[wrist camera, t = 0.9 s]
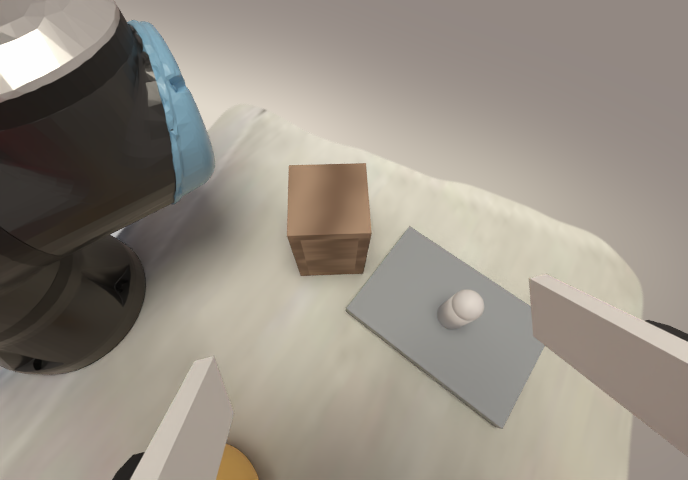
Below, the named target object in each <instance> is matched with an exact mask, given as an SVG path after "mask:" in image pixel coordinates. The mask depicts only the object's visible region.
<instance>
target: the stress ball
mask: <svg viewBox="0 0 688 480" xmlns="http://www.w3.org/2000/svg"><path fill="white" fill-rule="evenodd" d="M216 480H259V479H258V476H257V473H256V471H255V469H254V467H253V466H252V464H251V463H250V461H249V460H248V459H247V457H246V456H245V455H244V454H243V453H241V452H240V451H239V450H238V449H236V448H234V447H233V446H231V445H228V444H226V445H225V448H224V452H223V456H222V459H221V463H220V466H219V470H218V474H217V477H216Z"/></svg>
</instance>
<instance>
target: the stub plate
mask: <svg viewBox="0 0 688 480" xmlns="http://www.w3.org/2000/svg"><path fill="white" fill-rule="evenodd" d="M346 312H347V313H349V314H350V315H351V316H353V317H354V318H355V319H356V320H358V321H359V322H360V323H362V324H363V325H364V326H365V327H367V328H368V329H369V330H371V331H372V332H373V333H375V334H376V335H377V336H378V337H380V338H381V339H382V340H384V341H385V342H386V343H388V344H389V345H390V346H391V347H393V348H394V349H395V350H397V351H398V352H399V353H400V354H402V355H403V356H404V357H406V358H407V359H408V360H410V361H411V362H412V363H413V364H415V365H416V366H417V367H419V368H420V369H421V370H422V371H424V372H425V373H426V374H428V375H429V376H430V377H432V378H433V379H434V380H435V381H437V382H438V383H439V384H441V385H442V386H443V387H444V388H446V389H447V390H448V391H450V392H451V393H452V394H454V395H455V396H456V397H457V398H459V399H460V400H461V401H463V402H464V403H465V404H466V405H468V406H469V407H470V408H472V409H473V410H474V411H476V412H477V413H478V414H479V415H481V416H482V417H483V418H485V419H486V420H487V421H488V422H490V423H491V424H492V425H494V426H495V427H498V428H503V427H504V425H505V423H506V421H507V419H508V417H509V415H510V413H511V411H512V409H513V407H514V405H515V403H516V401H517V399H518V397H519V395H520V393H521V391H522V389H523V387H524V385H525V383H526V382H527V380H528V378H529V376H530V374H531V372H532V370H533V368H534V366H535V364H536V362H537V360H538V358H539V356H540V354H541V352H542V350H543V348H544V346H545V345H544V344H542V343H541V342H540V341H539V340H537V339H536V338H535V337H534V336H533V328H532V314H531V306H529V305H528V304H526V303H525V302H523V301H522V300H520V299H519V298H517V297H516V296H514V295H513V294H511V293H510V292H508V291H507V290H505V289H504V288H502V287H501V286H499V285H498V284H496V283H495V282H493V281H492V280H490V279H489V278H487V277H486V276H484V275H483V274H481V273H480V272H478V271H477V270H475V269H474V268H472V267H471V266H469V265H467V264H466V263H464V262H463V261H461V260H460V259H458V258H457V257H455V256H454V255H452V254H451V253H449V252H448V251H446V250H445V249H443V248H442V247H440V246H439V245H437V244H436V243H434V242H433V241H431V240H430V239H428V238H427V237H425V236H424V235H422V234H421V233H419V232H418V231H416V230H415V229H413V228H412V227H410V226H409V228H408V229H407V230H406V231H405V233H404V234H403V235H402V237H401V238H400V239H399V241H398V242H397V243H396V244H395V246H394V247H393V248H392V250H391V251H390V252H389V254H388V255H387V256H386V257H385V259H384V260H383V261H382V263H381V264H380V265H379V267H378V268H377V269H376V270H375V272H374V273H373V274H372V276H371V277H370V278H369V279H368V281H367V282H366V283H365V285H364V286H363V287H362V289H361V290H360V291H359V292H358V294H357V295H356V296H355V298H354V299H353V300H352V302H351V303H350V304H349V305H348V307H347V308H346Z"/></svg>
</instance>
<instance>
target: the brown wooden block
mask: <svg viewBox="0 0 688 480" xmlns="http://www.w3.org/2000/svg"><path fill="white" fill-rule="evenodd" d="M287 237H288V240H289V243H290V246H291V249H292V252H293V255H294V257H295V260H296V263H297V266H298V269H299V272H300V275H301V276H309V275H336V274H363V271H364V267H365V262H366V257H367V252H368V247H369V243H370V238H371V221H370V209H369V196H368V184H367V172H366V163H361V164H324V165H289V180H288V218H287Z"/></svg>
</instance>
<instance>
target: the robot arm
mask: <svg viewBox="0 0 688 480" xmlns="http://www.w3.org/2000/svg"><path fill="white" fill-rule="evenodd" d="M214 168H215V159H214V153H213V149H212V146H211V142H210V139H209V136H208V133H207V131H206V128H205V125H204V123H203V120H202V118H201V115H200V113H199V110H198V108H197V105H196V103H195V101H194V99H193V97H192V94H191V92H190V91H189V89H188V88H187V87H186V86H185V81H184V79H183V77H182V75H181V72H180V69H179V67H178V65H177V63H176V61H175V59H174V57H173V55H172V53H171V52H170V50H169V48H168V46H167V44H166V43H165V41H164V39H163V38H162V36H161V35H160V34H159V32H158V31H157V30H156V29H155V27H154V26H153V25H152V24H150V23H148V22H145V21H141V22H138V21H135V20H132V21H129V22H126V20H125V18H124V16H123V15H122V13H121V11H120V10H119V8H118V6H117V5H116V3H115V1H114V0H0V366H2V367H4V368H6V369H9V370H12V371H15V372H19V373H25V374H42V375H54V374H63V373H67V372H71V371H75V370H77V369H80V368H83V367H85V366H87V365H89V364H91V363H93V362H95V361H96V360H98V359H100V358H101V357H103V356H104V355H105V354H107V353H108V352H109V351H110V350H112V349H113V348H114V347H115V346H116V345H117V344H118V343H119V342H120V341H121V340H122V339H123V338H124V336H125V335H126V334H127V333H128V331H129V330H130V328H131V327H132V325H133V324H134V322H135V320H136V318H137V316H138V314H139V312H140V309H141V306H142V303H143V300H144V295H145V275H144V270H143V267H142V264H141V262H140V260H139V258H138V257H137V255H136V254H135V253H134V252H133V251H132V250H131V249H130V248H129V247H128V246H127V245H125V244H124V243H122V242H121V241H119V240H118V239H116V238H115V237H113V236H111V235H110V234H112V233H114V232H116V231H118V230H120V229H122V228H124V227H126V226H128V225H130V224H132V223H134V222H136V221H138V220H140V219H142V218H144V217H146V216H148V215H150V214H152V213H154V212H156V211H158V210H160V209H162V208H164V207H166V206H168V205H170V204H175V203H177V202H178V201H179V200H180V199H181V197H182V196H184V195H186V194H187V193H189V192H191V191H193V190H194V189H196V188H198V187H199V186H201V185H203V184H205V183H206V182H207V181H208V180H209V178H210V176H211V175H212V174H213V172H214ZM529 288H530V301H531V314H532V328H533V336H534V337H535V338H536V339H537V340H539V341H540V342H541V343H542V344H544V345H545V346H546V347H548V348H549V349H550V350H551V351H553V352H554V353H555V354H557V355H558V356H559V357H560V358H562V359H563V360H564V361H565V362H567V363H568V364H569V365H571V366H572V367H573V368H574V369H576V370H577V371H578V372H580V373H581V374H582V375H583V376H585V377H586V378H587V379H589V380H590V381H591V382H592V383H594V384H595V385H596V386H597V387H599V388H600V389H601V390H603V391H604V392H605V393H606V394H608V395H609V396H610V397H612V398H613V399H614V400H615V401H617V402H618V403H619V404H621V405H622V406H623V407H624V408H626V409H627V410H628V411H629V412H631V413H632V414H633V415H635V416H636V417H637V418H638V419H640V420H641V421H642V422H644V423H645V424H646V425H647V426H649V427H650V428H651V429H653V430H654V431H655V432H656V433H658V434H659V435H660V436H662V437H663V438H664V439H665V440H667V441H668V442H669V443H671V444H672V445H673V446H674V447H676V448H677V449H678V450H679V451H681V452H682V453H683V454H684V455H686V456H687V457H688V334H686V333H684V332H682V331H680V330H678V329H676V328H673V327H671V326H668V325H665V324H661V323H657V322H654V321H650V320H646V321H643V320H641V319H639V318H637V317H635V316H633V315H631V314H629V313H627V312H625V311H622V310H620V309H618V308H616V307H614V306H612V305H610V304H608V303H606V302H604V301H602V300H600V299H598V298H595V297H593V296H591V295H589V294H587V293H585V292H583V291H581V290H579V289H577V288H575V287H573V286H571V285H568V284H566V283H564V282H562V281H560V280H558V279H556V278H554V277H552V276H550V275H548V274H543V275H539V276H535V277H531V278H529ZM233 416H234V411H233V408H232V405H231V403H230V400H229V397H228V394H227V391H226V388H225V385H224V383H223V380H222V377H221V374H220V371H219V368H218V365H217V363H216V360H215V357H214V356H211V357H207V358H203V359H199V360H195V361H194V363H193V365H192V366H191V368H190V370H189V372H188V374H187V376H186V377H185V379H184V381H183V383H182V385H181V387H180V388H179V390H178V392H177V394H176V396H175V398H174V400H173V401H172V403H171V405H170V407H169V409H168V411H167V412H166V414H165V416H164V418H163V420H162V422H161V424H160V425H159V427H158V429H157V431H156V433H155V435H154V436H153V438H152V440H151V442H150V444H149V446H148V447H147V449H146V451H145V452H143V453H139V454H135V455H133V456H132V457H131V458H130V459H129V460H128V461H127V462H126V463H125V464H124V465H123V466H122V467H121V468H120V469H119V470H118V472H117V473H116V474H115V476H114V478H113V479H112V480H216V477H217V474H218V470H219V466H220V463H221V459H222V456H223V452H224V448H225V445H226V441H227V437H228V434H229V430H230V427H231V423H232V419H233Z"/></svg>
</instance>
